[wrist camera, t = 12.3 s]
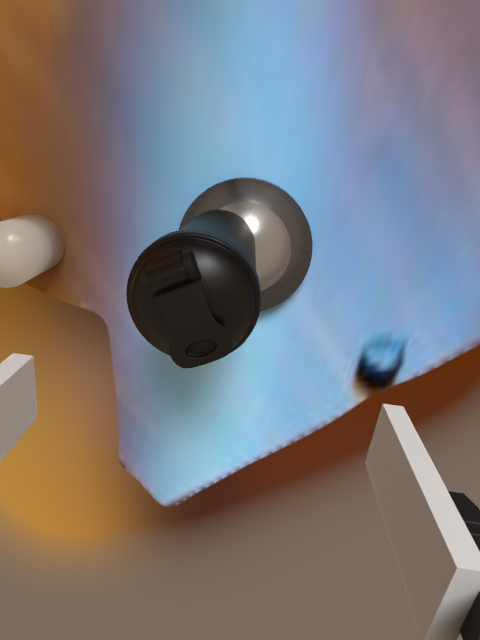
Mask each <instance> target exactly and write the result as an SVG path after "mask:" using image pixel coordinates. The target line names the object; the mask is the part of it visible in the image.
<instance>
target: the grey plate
mask: <svg viewBox="0 0 480 640" xmlns="http://www.w3.org/2000/svg"><path fill="white" fill-rule="evenodd" d="M217 209H220V210H227V211H231V212H233V213H235V214H237V215H239V216H240V217H241V218H243V219H244V220H245V221H246V222H247V224H248V225H249V226H250V228H251V230H252V232H253V235H254V238H255V251H256V272H257V274H258V278H259V281H260V287H261V306H260V311H263V310H266V309H269V308H271V307H274V306H276V305H278V304H279V303H281V302H283V301H284V300H285V299H287V298H288V297H289V296H290V295H291V294H292V293H293V292H294V291H295V290H296V289H297V288H298V287H299V285H300V284H301V283H302V281H303V279H304V277H305V276H306V273H307V271H308V268H309V265H310V261H311V256H312V236H311V231H310V227H309V224H308V221H307V219H306V217H305V215H304V213H303V211H302V210H301V208H300V206H299V205H298V204H297V202H296V201H295V200H294V199H293V198H292V197H291V196H290V195H289V194H288V193H287V192H286V191H284V190H283V189H281V188H280V187H278V186H276V185H274V184H272V183H270V182H267V181H264V180H261V179H256V178H246V177H244V178H234V179H229V180H226V181H223V182H220V183H218V184H216V185H214V186H212V187H210V188H209V189H207V190H206V191H205V192H203V193H202V194H201V195H200V196H199V197H197V198H196V199H195V200H194V202H193V203H192V204H191V205H190V207H189V208H188V210H187V211H186V213H185V215H184V217H183V219H182V222H181V224H180V228H179V230H180V229H181V228H182V227H184V226H185V225H187V224H188V223H189V222H191V221H192V220H193V219H195V218H196V217H198V216H199V215H201V214H202V213H204V212H207V211H210V210H217Z"/></svg>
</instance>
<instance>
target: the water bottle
mask: <svg viewBox="0 0 480 640" xmlns="http://www.w3.org/2000/svg"><path fill="white" fill-rule="evenodd" d="M127 303H128V308H129V312H130V315H131V317H132V320H133V322H134V324H135V325H136V327H137V329H138V330H139V332H140V333H141V334H142V335H143V337H144V338H145V339H146V340H147V341H148V342H149V343H151V344H152V345H153V346H154V347H156V348H157V349H159V350H160V351H162V352H164V353H166V354H168V355H170V356H171V358H172V360H173V361H174V362H175V363H176V365H178V366H180V367H182V368H193V367H197V366H200V365H204V364H207V363H210V362H213V361H215V360H218V359H220V358H223V357H225V356H226V355H228V354H229V353H231V352H233V351H234V350H236V349H237V348H238V347H239V346H241V345H242V344H243V343H244V342H245V340H246V339H247V338H248V337H249V335H250V334H251V332H252V330H253V329H254V327H255V325H256V322H257V320H258V316H259V312H260V306H261V287H260V281H259V278H258V274H257V272H256V251H255V238H254V235H253V232H252V230H251V228H250V226H249V225H248V224H247V222H246V221H245V220H244V219H243V218H241V217H240V216H239V215H237V214H235V213H233V212H231V211H227V210H220V209H217V210H210V211H207V212H204V213H202V214H201V215H199V216H198V217H196V218H195V219H193V220H192V221H191V222H189V223H188V224H187V225H185V226H184V227H182V228H181V229H180V230H178V231H175V232H172V233H169V234H167V235H165V236H163V237H161V238H159V239H158V240H156V241H155V242H154V243H152V244H151V245H150V246H149V247H147V248H146V249H145V250H144V251H143V252H142V253H141V254H140V256H139V257H138V259H137V261H136V262H135V264H134V266H133V268H132V270H131V273H130V275H129V279H128V284H127Z"/></svg>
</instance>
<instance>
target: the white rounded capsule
mask: <svg viewBox="0 0 480 640" xmlns="http://www.w3.org/2000/svg"><path fill="white" fill-rule="evenodd" d="M64 251H65V243H64V238H63V235H62V233H61V231H60V230H59V228H58V227H57V226H56V225H55V224H54V223H53V222H52V221H51V220H50V219H48V218H46V217H44V216H42V215H38V214H26V215H22V216H19V217H15V218H11V219H8V220H4V221H0V287H3V288H12V287H16V286H19V285H21V284H23V283H25V282H26V281H28V280H30V279H32V278H34V277H35V276H37V275H39V274H41V273H43V272H45V271H46V270H48V269H50V268H52V267H54V266H55V265H57V264H58V263H59V262H60V260H61V259H62V257H63V255H64Z"/></svg>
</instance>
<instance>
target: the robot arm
mask: <svg viewBox="0 0 480 640" xmlns="http://www.w3.org/2000/svg"><path fill="white" fill-rule="evenodd" d="M37 418H38V413H37V399H36V384H35V371H34V356H30V355H23V354H15V353H13V354H12V355H10V356H9V357H8V358H7V359H6V360H4V361H3V362H2V363H1V364H0V462H1V460H2V459H3V458H4V457H5V456H6V454H7V453H8V452H9V451H10V450H11V449H12V447H13V446H14V445H15V444H16V442H17V441H18V440H19V439H20V438H21V437H22V435H23V434H24V433H25V432H26V431H27V429H28V428H29V427H30V426H31V425H32V424H33V422H34V421H35V420H36V419H37ZM365 463H366V466H367V469H368V473H369V475H370V479H371V482H372V485H373V489H374V492H375V495H376V498H377V501H378V504H379V508H380V511H381V514H382V517H383V520H384V524H385V527H386V530H387V533H388V536H389V539H390V543H391V545H392V549H393V552H394V555H395V558H396V562H397V565H398V568H399V571H400V574H401V577H402V581H403V584H404V587H405V590H406V593H407V596H408V600H409V603H410V606H411V609H412V612H413V615H414V619H415V622H416V625H417V628H418V631H419V634H420V638H421V640H456V639H457V638H458V636H459V634H460V633H461V635H462V638H463V640H480V510H479V508H478V507H477V506H476V505H475V504H474V503H473V502H472V501H471V500H470V499H469V498H468V497H467V496H466V495H465V494H463V493H456V492H449V491H447V489H446V487H445V485H444V483H443V481H442V479H441V477H440V475H439V474H438V472H437V470H436V468H435V466H434V464H433V462H432V460H431V458H430V457H429V455H428V453H427V451H426V449H425V447H424V445H423V443H422V441H421V440H420V438H419V436H418V434H417V432H416V430H415V428H414V426H413V424H412V422H411V421H410V419H409V417H408V415H407V413H406V411H405V409H404V407H402V406H394V405H388V404H383V405H382V408H381V411H380V415H379V418H378V421H377V425H376V428H375V431H374V435H373V438H372V441H371V445H370V448H369V451H368V455H367V458H366V461H365Z"/></svg>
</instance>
